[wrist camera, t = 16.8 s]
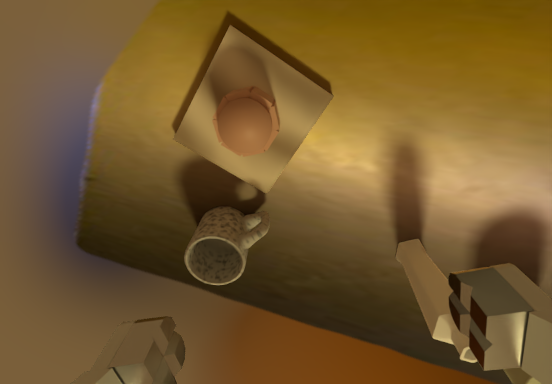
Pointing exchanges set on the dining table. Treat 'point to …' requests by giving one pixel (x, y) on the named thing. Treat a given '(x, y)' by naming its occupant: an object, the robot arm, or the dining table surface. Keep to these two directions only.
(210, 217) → the mug
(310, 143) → the dining table surface
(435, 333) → the perfume bottle
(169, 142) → the dining table surface
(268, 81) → the board
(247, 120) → the cap
